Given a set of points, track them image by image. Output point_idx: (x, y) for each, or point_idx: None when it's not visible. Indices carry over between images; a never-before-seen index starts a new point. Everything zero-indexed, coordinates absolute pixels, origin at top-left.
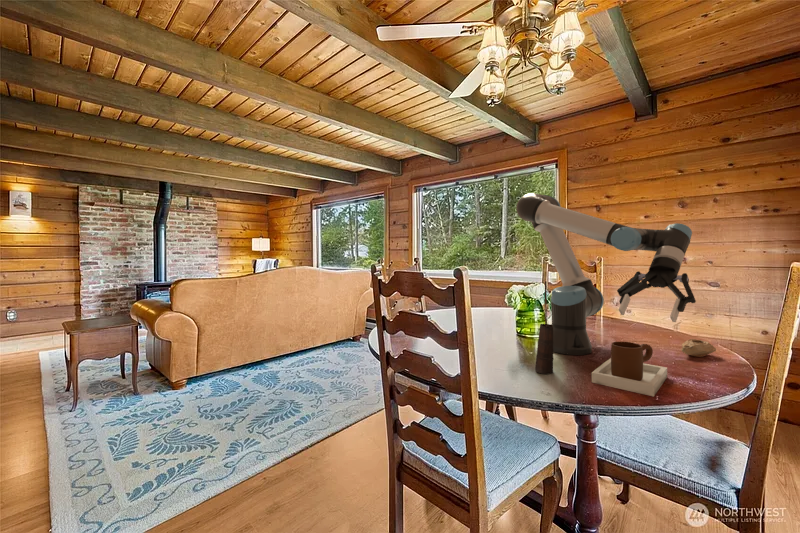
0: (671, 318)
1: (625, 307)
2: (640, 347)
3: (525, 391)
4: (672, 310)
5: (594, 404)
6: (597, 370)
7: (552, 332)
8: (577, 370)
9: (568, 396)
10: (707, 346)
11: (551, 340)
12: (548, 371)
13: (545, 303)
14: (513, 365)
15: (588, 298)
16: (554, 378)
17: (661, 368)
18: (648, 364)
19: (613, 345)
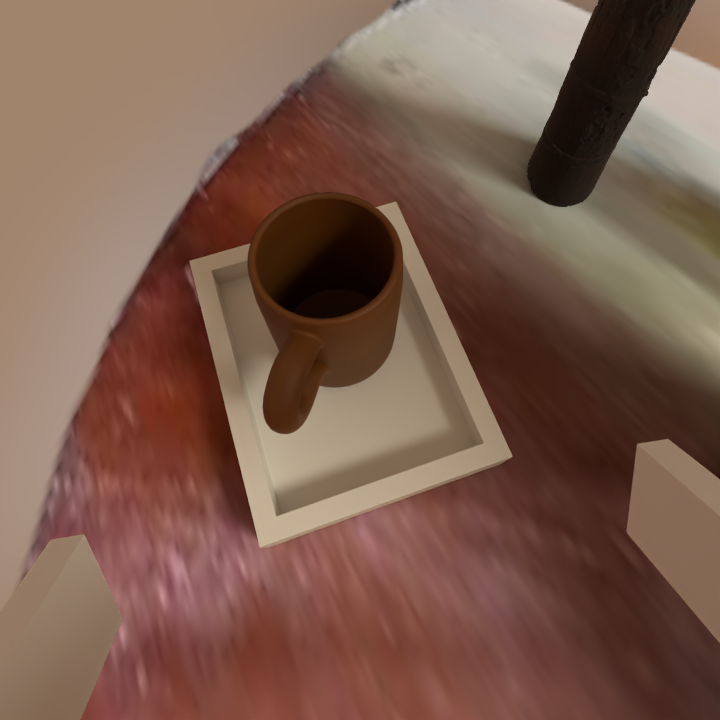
0: (96, 569)
1: (703, 585)
2: (250, 261)
3: (434, 35)
4: (30, 615)
5: (275, 107)
6: (402, 237)
7: (605, 19)
8: (518, 288)
9: (349, 94)
10: None
11: (579, 52)
12: (530, 163)
13: None
14: (664, 139)
15: None
16: (483, 159)
17: (269, 503)
18: (340, 514)
19: (360, 199)
